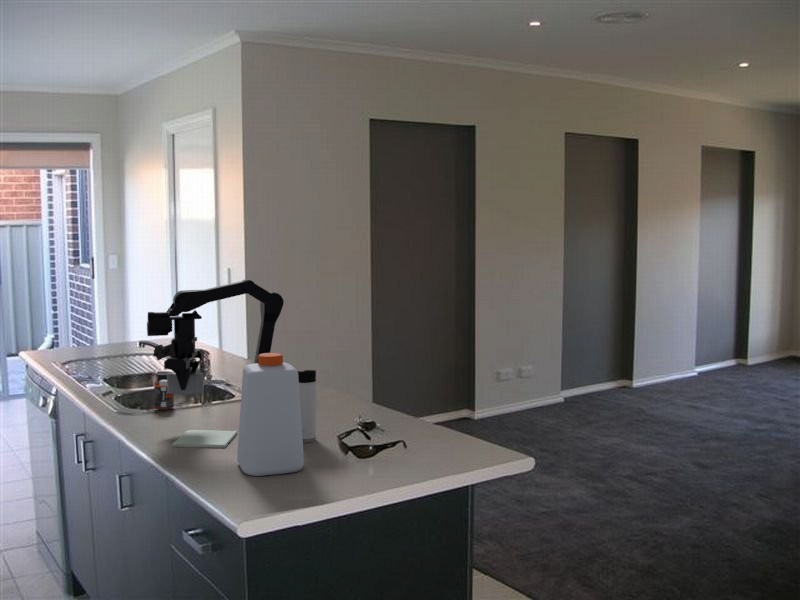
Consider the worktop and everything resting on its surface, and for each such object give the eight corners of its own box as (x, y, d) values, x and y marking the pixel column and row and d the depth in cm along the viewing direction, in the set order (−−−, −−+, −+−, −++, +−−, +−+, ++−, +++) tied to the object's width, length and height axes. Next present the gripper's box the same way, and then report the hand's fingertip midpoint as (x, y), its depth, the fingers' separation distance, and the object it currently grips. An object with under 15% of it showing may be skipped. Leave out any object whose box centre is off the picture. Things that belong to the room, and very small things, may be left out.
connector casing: (205, 391, 228) (205, 372, 227) (201, 394, 223) (200, 375, 223) (163, 390, 228) (163, 371, 227) (158, 393, 224) (157, 374, 223)
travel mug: (298, 444, 212) (298, 371, 210) (289, 438, 218) (290, 367, 216) (319, 441, 215) (320, 370, 213) (310, 435, 221) (311, 366, 219)
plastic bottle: (307, 473, 188) (308, 358, 185) (244, 479, 183) (244, 361, 180) (293, 455, 202) (294, 348, 200) (234, 460, 197) (234, 350, 194)
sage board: (237, 433, 222) (237, 430, 222) (224, 447, 208) (224, 444, 208) (188, 432, 222) (188, 429, 222) (172, 446, 208) (172, 443, 208)
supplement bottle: (168, 411, 247) (167, 375, 246) (150, 409, 248) (150, 374, 247) (177, 406, 253) (176, 372, 251) (160, 405, 254) (159, 371, 253)
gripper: (168, 329, 233) (169, 381, 235) (145, 339, 215) (146, 394, 216) (204, 330, 233) (205, 381, 235) (185, 339, 214) (185, 395, 216)
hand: (185, 388), depth 225 cm, fingers closed on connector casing, 4 cm apart
